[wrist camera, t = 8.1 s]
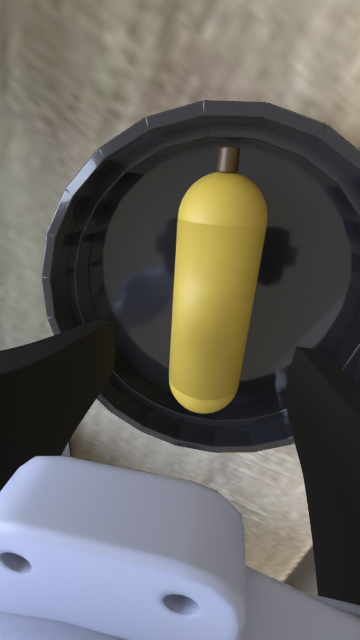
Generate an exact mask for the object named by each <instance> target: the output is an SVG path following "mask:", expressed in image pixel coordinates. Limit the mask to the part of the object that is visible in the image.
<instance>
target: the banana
mask: <svg viewBox="0 0 360 640" xmlns="http://www.w3.org/2000/svg"><path fill="white" fill-rule="evenodd" d="M239 157H240V148H238V147H233V146H222V147H220V148H219V155H218V165H217V172H215V173H211V174H208V175H206V176H204V177H202V178H200V179H199V180H198V181H196V182H195V183H194V184H193V185H192V186H191V187H190V188H189V189H188V191H187V192H186V194H185V195H184V197H183V199H182V201H181V204H180V207H179V212H178V221H177V239H176V257H175V275H174V292H173V310H172V328H171V346H170V363H169V384H170V388H171V391H172V393H173V395H174V397H175V398H176V400H177V401H178V402H179V403H180V404H181V405H182V406H184V407H185V408H186V409H188V410H190V411H193V412H196V413H202V414H207V413H214V412H216V411H219V410H221V409H223V408H224V407H226V406H227V405H228V404H229V403H230V402H231V401H232V399H233V398H234V396H235V394H236V392H237V389H238V386H239V381H240V375H241V370H242V364H243V358H244V352H245V347H246V341H247V335H248V330H249V324H250V318H251V313H252V307H253V301H254V296H255V290H256V284H257V279H258V273H259V267H260V262H261V256H262V250H263V245H264V239H265V233H266V228H267V216H268V214H267V206H266V202H265V199H264V196H263V195H262V193H261V191H260V190H259V188H258V187H257V186H256V185H255V184H254V183H253V182H252V181H251V180H250V179H248V178H247V177H245V176H243V175H241V174H238V173H237V172H238V165H239Z"/></svg>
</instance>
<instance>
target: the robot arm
mask: <svg viewBox="0 0 360 640" xmlns="http://www.w3.org/2000/svg"><path fill="white" fill-rule="evenodd" d="M114 366H115V349H114V322H111V321H104V320H97V321H93V322H90V323H87V324H84V325H81V326H79V327H76V328H73V329H71V330H68V331H65V332H63V333H60V334H57V335H54V336H51V337H48V338H45V339H43V340H40V341H37V342H33V343H30V344H26V345H23V346H19V347H15V348H11V349H7V350H2V351H0V640H360V383H358V382H357V381H356V380H354V379H353V378H352V377H350V376H349V375H348V374H346V373H345V372H344V371H342V370H341V369H340V368H339V367H337V366H336V365H335V364H334V363H332V362H331V361H330V360H328V359H327V358H326V357H325V356H323V355H322V354H321V353H319V352H318V351H316V350H315V349H312V348H305V347H298V346H296V349H295V353H294V357H293V361H292V365H291V369H290V373H289V377H288V381H287V385H286V388H285V397H286V406H287V414H288V418H289V422H290V426H291V430H292V434H293V437H294V441H295V445H296V449H297V452H298V456H299V460H300V464H301V468H302V472H303V477H304V483H305V489H306V496H307V503H308V509H309V517H310V525H311V533H312V541H313V550H314V559H315V569H316V578H317V589H318V595H313V594H309V593H305V592H302V591H300V590H297V589H295V588H293V587H291V586H289V585H287V584H285V583H282V582H280V581H278V580H276V579H274V578H272V577H269V576H267V575H265V574H263V573H261V572H259V571H256V570H254V569H252V568H250V567H248V566H246V565H245V534H244V528H243V523H242V517H241V513H240V512H239V511H238V510H237V509H236V508H235V507H234V506H233V505H232V504H230V503H229V502H228V501H227V500H226V499H225V498H224V497H223V496H222V495H221V494H220V493H219V492H218V491H215V490H213V489H210V488H208V487H205V486H203V485H200V484H198V483H195V482H193V481H189V480H184V479H179V478H174V477H169V476H164V475H159V474H154V473H149V472H144V471H139V470H134V469H129V468H124V467H119V466H114V465H109V464H104V463H99V462H94V461H89V460H84V459H79V458H74V457H70V450H69V440H70V438H71V436H72V434H73V433H74V431H75V430H76V428H77V426H78V425H79V423H80V422H81V420H82V419H83V417H84V416H85V414H86V413H87V411H88V410H89V409H90V407H91V406H92V404H93V403H94V401H95V400H96V398H97V397H98V395H99V394H100V392H101V391H102V389H103V388H104V386H105V385H106V383H107V381H108V379H109V377H110V375H111V372H112V370H113V368H114Z"/></svg>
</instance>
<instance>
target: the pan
mask: <svg viewBox="0 0 360 640" xmlns="http://www.w3.org/2000/svg"><path fill="white" fill-rule="evenodd" d="M222 146H233V147H238V148H240V157H239V165H238V172H237V173H238V174H241V175H243V176H245V177H247V178H248V179H250V180H251V181H252V182H253V183H254V184H255V185H256V186H257V187H258V188H259V190H260V191H261V193H262V195H263V196H264V199H265V202H266V206H267V214H268V216H267V228H266V233H265V239H264V245H263V250H262V256H261V262H260V267H259V273H258V279H257V284H256V290H255V296H254V301H253V307H252V313H251V318H250V324H249V330H248V335H247V341H246V347H245V352H244V358H243V364H242V370H241V375H240V381H239V386H238V389H237V392H236V394H235V396H234V398H233V399H232V401H231V402H230V403H229V404H228V405H227V406H226V407H224V408H223V409H221V410H219V411H216V412H214V413H207V414H202V413H196V412H193V411H190V410H188V409H186V408H185V407H184V406H182V405H181V404H180V403H179V402H178V401H177V400H176V398H175V397H174V395H173V393H172V391H171V388H170V384H169V363H170V346H171V328H172V310H173V292H174V275H175V257H176V239H177V221H178V212H179V207H180V204H181V201H182V199H183V197H184V195H185V194H186V192H187V191H188V189H189V188H190V187H191V186H192V185H193V184H194V183H195V182H196V181H198V180H199V179H200V178H202V177H204V176H206V175H208V174H211V173H215V172H217V165H218V155H219V148H220V147H222ZM47 232H48V233H47V236H46V244H45V253H44V261H43V269H42V283H43V290H44V298H45V305H46V312H47V317H48V321H49V323H50V326H51V328H52V331H53V333H54V335H57V334H60V333H63V332H65V331H68V330H71V329H73V328H76V327H79V326H81V325H84V324H87V323H90V322H93V321H97V320H104V321H111V322H114V349H115V366H114V368H113V370H112V372H111V375H110V377H109V379H108V381H107V383H106V385H105V386H104V388H103V389H102V391H101V392H100V394H99V395H98V397H97V398H96V399H97V400H98V401H100V402H101V403H102V404H103V405H104V406H105V407H106V408H107V409H108V410H109V411H111V413H113V414H115V415H116V416H118V417H119V418H121V419H122V420H124V421H125V422H127V423H129V424H130V425H132V426H133V427H135V428H136V429H138V430H140V431H142V432H143V433H146V434H149V435H151V436H154V437H156V438H159V439H161V440H164V441H166V442H169V443H171V444H174V445H177V446H182V447H187V448H192V449H198V450H203V451H208V452H215V453H222V452H257V451H262V450H267V449H271V448H276V447H281V446H286V445H291V444H294V443H295V441H294V437H293V434H292V430H291V426H290V422H289V418H288V414H287V406H286V397H285V388H286V385H287V381H288V377H289V373H290V369H291V365H292V361H293V357H294V353H295V349H296V346H298V347H305V348H312V349H315V350H316V351H318V352H319V353H321V354H322V355H323V356H325V357H326V358H327V359H328V360H330V361H331V362H332V363H334V364H335V365H336V366H337V367H339V368H340V369H341V370H342V371H344V372H345V373H346V374H348V375H349V376H350V377H352V378H353V379H354V380H356V381H357V382H358V383H360V150H358V149H357V148H356V147H355V146H353V145H352V144H351V143H350V142H348V141H347V140H346V139H345V138H343V137H342V136H341V135H340V134H338V133H337V132H336V131H335V130H334V129H332V128H331V127H330V126H329V125H326V124H325V123H322V122H320V121H317V120H314V119H311V118H309V117H306V116H303V115H300V114H298V113H295V112H292V111H290V110H287V109H284V108H281V107H279V106H276V105H273V104H270V103H267V104H266V102H244V101H212V100H205V101H204V102H203V101H199V102H196V103H192V104H189V105H185V106H182V107H178V108H175V109H171V110H168V111H164V112H161V113H157V114H154V115H151V116H147V117H146V118H143V119H142V120H140V121H139V122H137V123H136V124H134V125H133V126H131V127H130V128H128V129H127V130H125V131H124V132H122V133H120V134H119V135H117V136H116V137H114V138H113V139H111V140H110V141H108V142H107V143H105V144H104V145H102V146H101V147H99V149H97V150H96V152H95V153H94V154H93V155H92V156H91V158H90V159H89V160H88V161H87V163H86V164H85V165H84V166H83V167H82V169H81V170H80V171H79V172H78V174H77V175H76V176H75V177H74V179H73V180H72V181H71V182H70V183H69V185H68V186H67V187H66V189H65V191H64V193H63V195H62V198H61V200H60V203H59V205H58V207H57V210H56V212H55V215H54V217H53V219H52V222H51V224H50V226H49V229H48V231H47Z"/></svg>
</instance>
